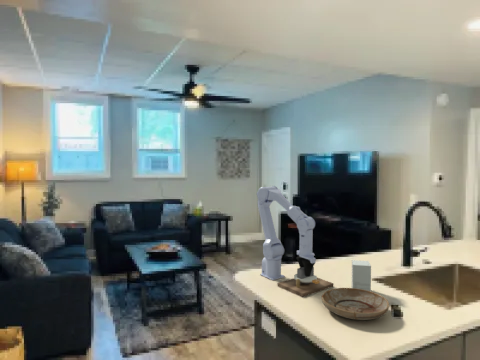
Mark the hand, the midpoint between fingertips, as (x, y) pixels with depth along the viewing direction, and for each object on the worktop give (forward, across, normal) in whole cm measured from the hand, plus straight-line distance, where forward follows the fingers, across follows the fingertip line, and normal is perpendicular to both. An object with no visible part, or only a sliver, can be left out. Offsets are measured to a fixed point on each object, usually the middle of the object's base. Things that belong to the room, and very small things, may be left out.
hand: (305, 274), depth 147 cm
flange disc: (+2, -1, 0) cm, 2 cm away
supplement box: (+6, -12, -20) cm, 24 cm away
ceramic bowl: (+6, -28, -6) cm, 29 cm away
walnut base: (+5, 0, 0) cm, 5 cm away
